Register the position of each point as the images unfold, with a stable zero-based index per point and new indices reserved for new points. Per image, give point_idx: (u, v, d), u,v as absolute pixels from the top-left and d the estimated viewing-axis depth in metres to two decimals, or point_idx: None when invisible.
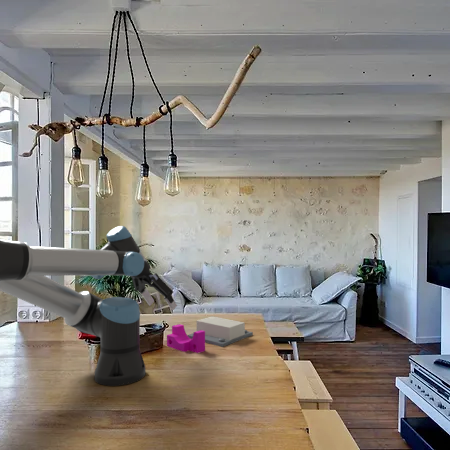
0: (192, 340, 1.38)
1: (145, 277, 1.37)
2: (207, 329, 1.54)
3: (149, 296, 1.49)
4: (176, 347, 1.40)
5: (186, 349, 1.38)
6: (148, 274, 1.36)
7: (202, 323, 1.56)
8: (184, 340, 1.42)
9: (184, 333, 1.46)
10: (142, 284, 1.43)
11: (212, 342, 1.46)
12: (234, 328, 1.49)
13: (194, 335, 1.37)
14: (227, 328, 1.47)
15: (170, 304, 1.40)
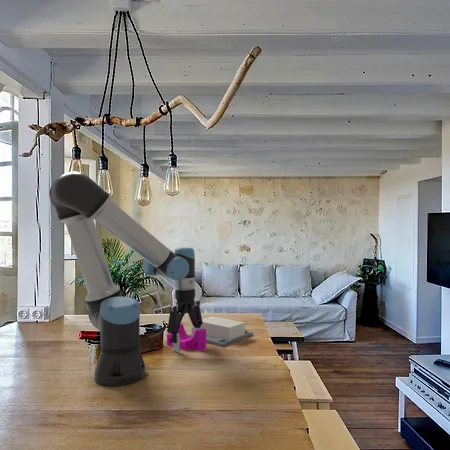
0: (193, 338, 1.40)
1: None
2: (207, 329, 1.54)
3: None
4: None
5: (187, 347, 1.40)
6: (177, 302, 1.38)
7: None
8: (184, 338, 1.44)
9: (184, 332, 1.47)
10: (189, 314, 1.44)
11: (212, 342, 1.46)
12: (234, 328, 1.49)
13: (196, 333, 1.39)
14: (227, 328, 1.47)
15: (173, 343, 1.38)
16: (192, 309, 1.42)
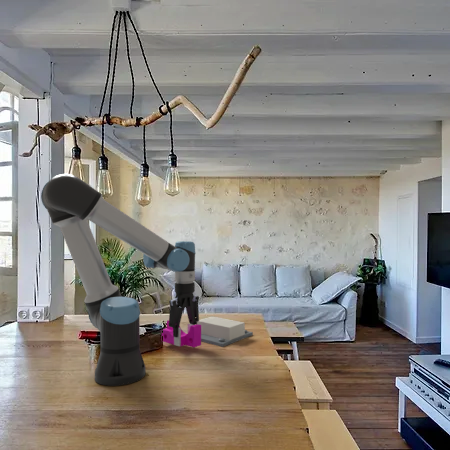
0: (188, 334, 1.38)
1: None
2: (207, 329, 1.54)
3: None
4: (172, 341, 1.40)
5: (182, 343, 1.39)
6: (176, 296, 1.38)
7: (202, 323, 1.56)
8: None
9: None
10: (187, 309, 1.43)
11: (212, 342, 1.46)
12: (234, 328, 1.49)
13: (191, 329, 1.38)
14: (227, 328, 1.47)
15: (175, 337, 1.38)
16: (191, 303, 1.41)
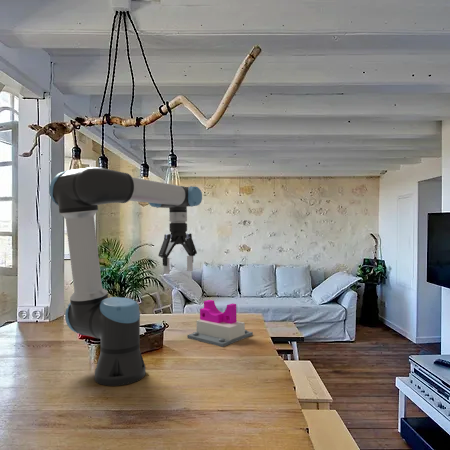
0: (225, 312, 1.54)
1: None
2: (207, 329, 1.54)
3: (190, 263, 1.64)
4: (210, 319, 1.57)
5: (220, 320, 1.55)
6: (171, 233, 1.57)
7: (202, 323, 1.56)
8: (216, 313, 1.58)
9: (215, 307, 1.62)
10: (183, 245, 1.63)
11: (212, 342, 1.46)
12: (234, 328, 1.49)
13: (227, 307, 1.54)
14: (227, 328, 1.47)
15: (164, 267, 1.54)
16: (185, 240, 1.60)
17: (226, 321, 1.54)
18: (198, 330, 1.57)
